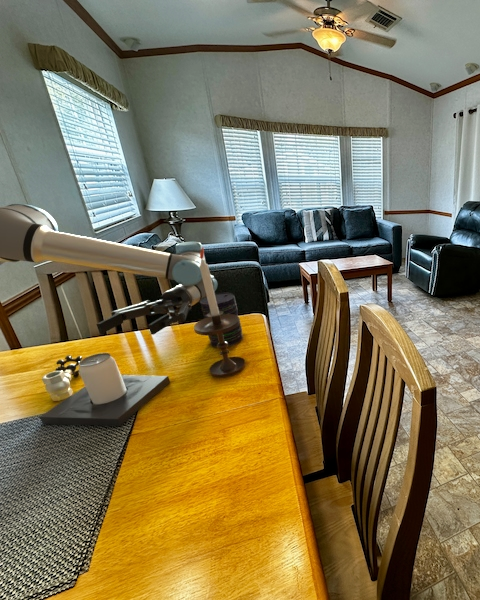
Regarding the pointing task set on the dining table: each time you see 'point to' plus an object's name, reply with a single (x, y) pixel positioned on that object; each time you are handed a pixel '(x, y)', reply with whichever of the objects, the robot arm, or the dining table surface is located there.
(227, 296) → the storage jar
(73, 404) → the plate
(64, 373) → the valve
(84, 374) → the can
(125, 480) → the dining table surface
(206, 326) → the candlestick
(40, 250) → the robot arm
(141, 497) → the dining table surface
